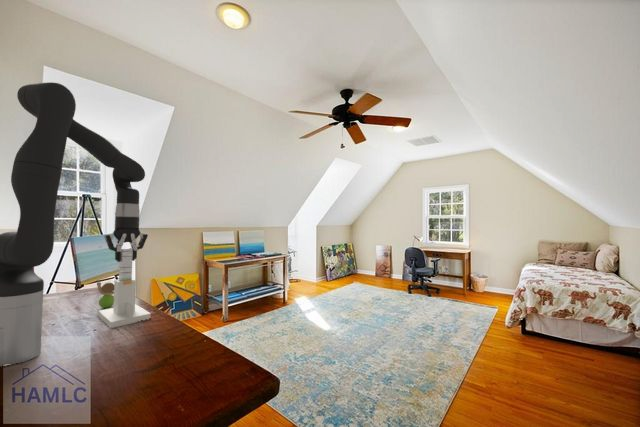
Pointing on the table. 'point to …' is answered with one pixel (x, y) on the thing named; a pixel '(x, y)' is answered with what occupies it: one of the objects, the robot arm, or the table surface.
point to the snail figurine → (106, 294)
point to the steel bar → (125, 264)
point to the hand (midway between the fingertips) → (125, 260)
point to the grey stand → (123, 306)
